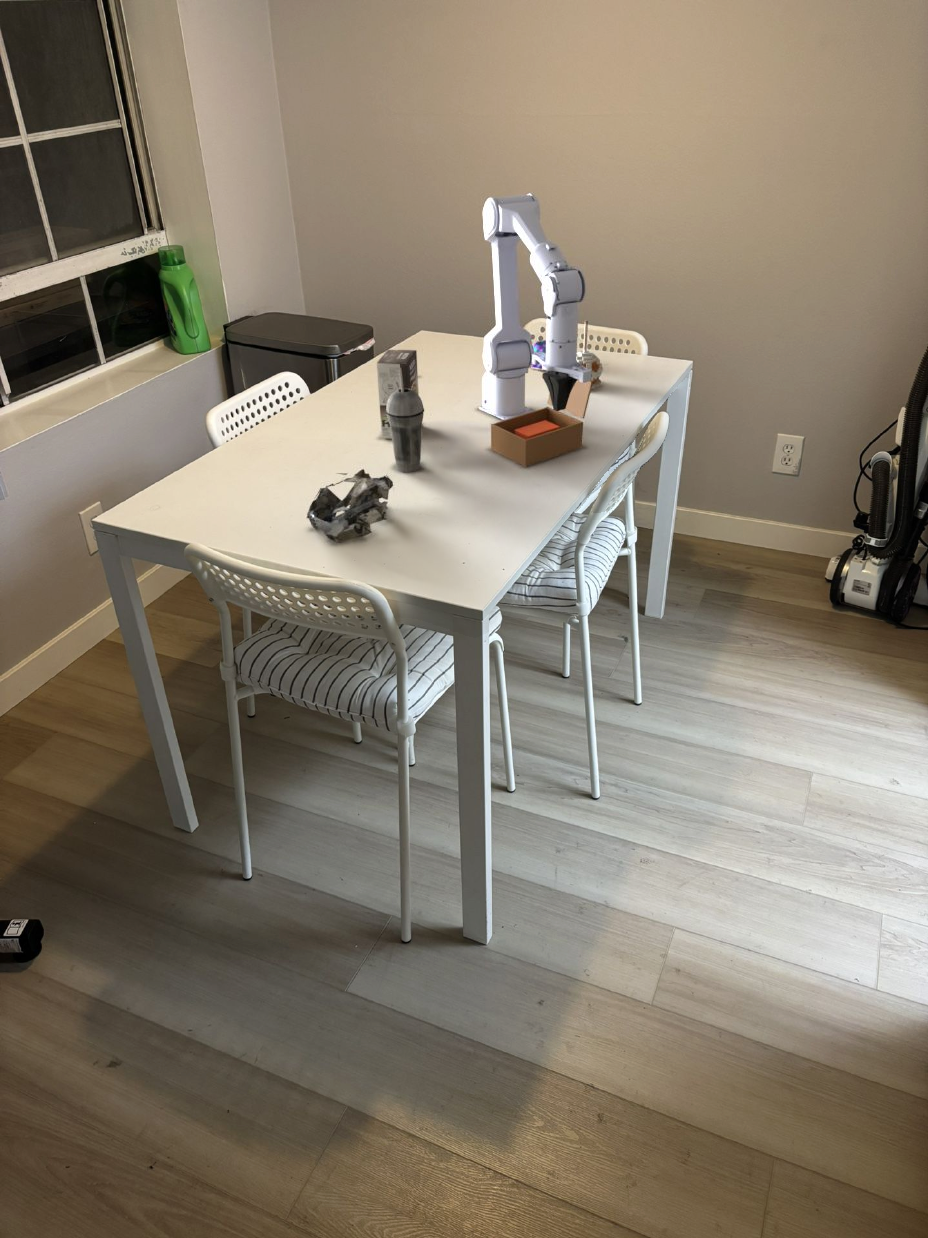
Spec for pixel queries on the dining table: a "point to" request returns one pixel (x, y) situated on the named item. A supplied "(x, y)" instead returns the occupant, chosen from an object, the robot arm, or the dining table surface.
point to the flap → (577, 399)
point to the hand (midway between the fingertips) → (559, 409)
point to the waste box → (540, 445)
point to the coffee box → (395, 380)
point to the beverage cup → (406, 427)
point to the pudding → (539, 347)
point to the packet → (536, 429)
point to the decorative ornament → (590, 361)
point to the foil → (351, 507)
